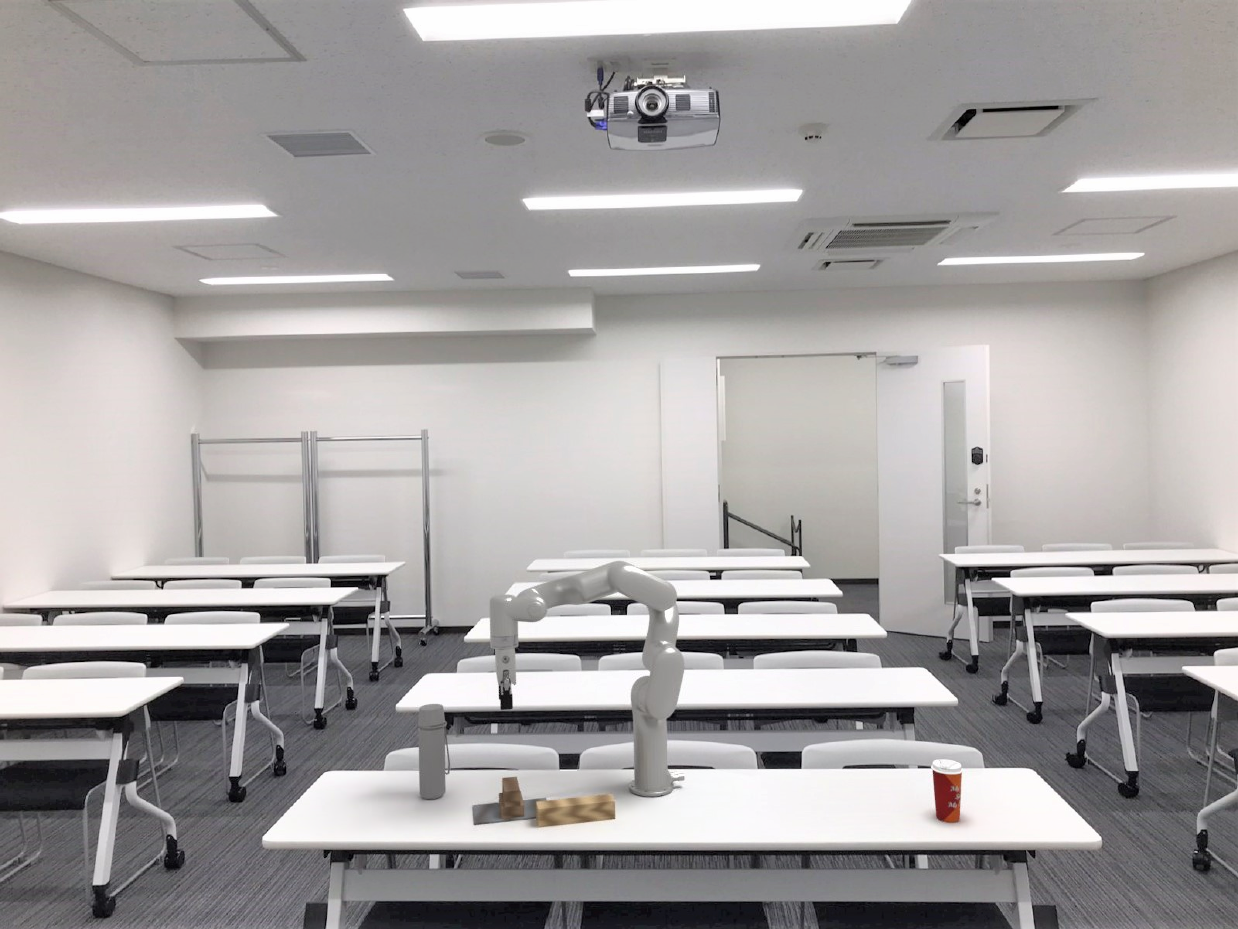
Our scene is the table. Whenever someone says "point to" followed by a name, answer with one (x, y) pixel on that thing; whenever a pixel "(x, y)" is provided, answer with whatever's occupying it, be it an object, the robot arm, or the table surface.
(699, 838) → the table surface
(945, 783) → the paper cup
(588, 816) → the oak bar
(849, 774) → the table surface
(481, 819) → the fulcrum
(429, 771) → the water bottle
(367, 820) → the table surface
